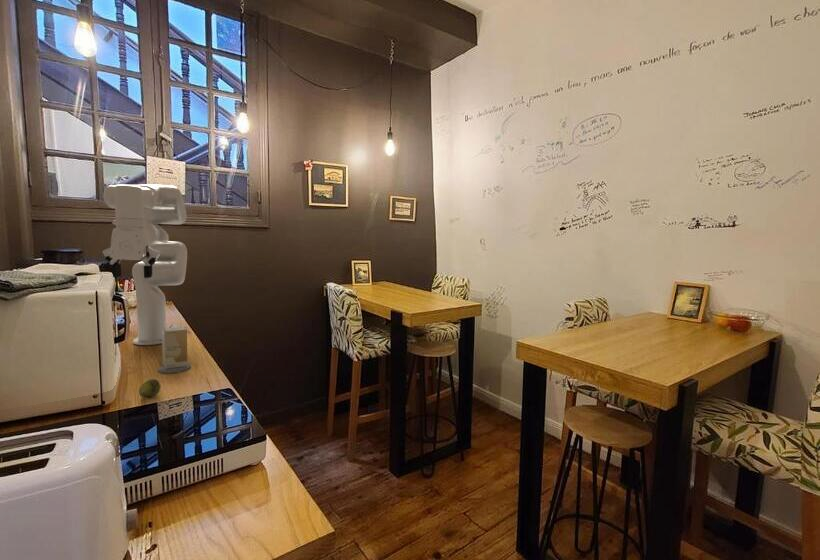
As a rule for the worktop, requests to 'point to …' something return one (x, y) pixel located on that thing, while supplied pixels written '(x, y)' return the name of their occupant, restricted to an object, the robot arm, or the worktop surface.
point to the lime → (149, 388)
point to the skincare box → (175, 347)
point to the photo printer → (163, 337)
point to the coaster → (173, 369)
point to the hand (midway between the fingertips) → (132, 277)
